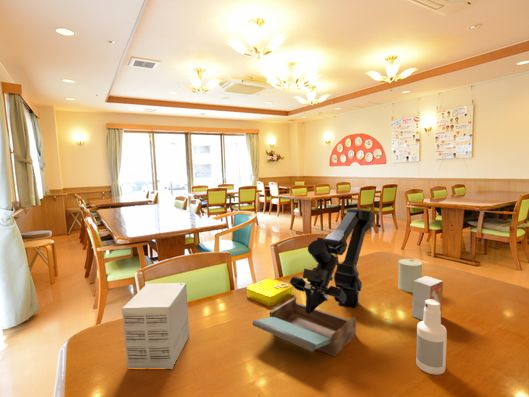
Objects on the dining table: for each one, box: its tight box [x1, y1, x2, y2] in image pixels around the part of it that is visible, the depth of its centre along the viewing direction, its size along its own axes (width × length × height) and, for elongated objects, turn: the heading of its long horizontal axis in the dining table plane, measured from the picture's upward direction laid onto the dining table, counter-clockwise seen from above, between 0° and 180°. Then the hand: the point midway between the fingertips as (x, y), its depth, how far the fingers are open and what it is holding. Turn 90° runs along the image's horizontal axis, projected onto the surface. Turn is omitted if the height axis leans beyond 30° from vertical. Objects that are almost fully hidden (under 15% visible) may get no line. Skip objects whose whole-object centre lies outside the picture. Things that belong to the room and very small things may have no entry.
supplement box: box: [121, 282, 190, 370], centre depth 92 cm, size 17×13×18 cm
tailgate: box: [252, 316, 330, 353], centre depth 92 cm, size 2×21×10 cm
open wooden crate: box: [269, 297, 357, 357], centre depth 101 cm, size 14×24×6 cm, turn 49°
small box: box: [411, 275, 444, 321], centre depth 108 cm, size 8×6×13 cm
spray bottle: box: [415, 299, 448, 376], centre depth 82 cm, size 7×7×18 cm
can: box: [397, 258, 423, 294], centre depth 132 cm, size 9×9×12 cm
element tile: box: [246, 277, 294, 307], centre depth 130 cm, size 15×15×5 cm
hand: (307, 313), depth 98 cm, fingers closed
